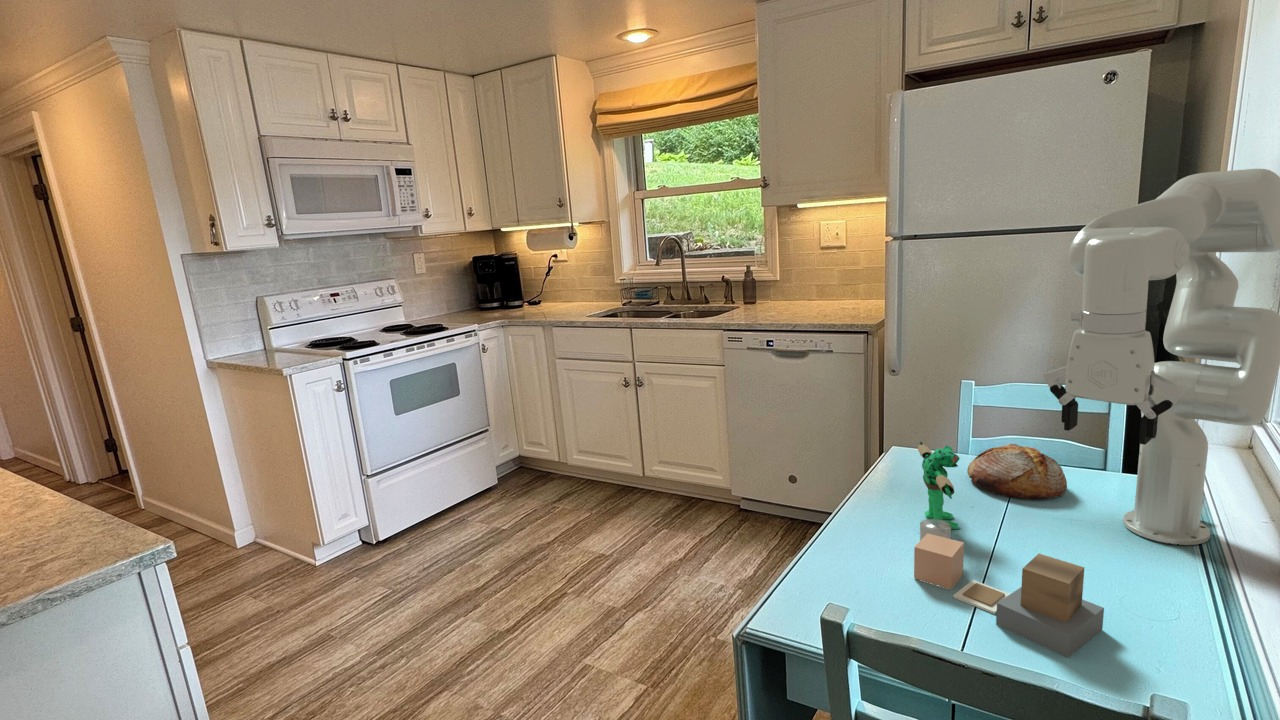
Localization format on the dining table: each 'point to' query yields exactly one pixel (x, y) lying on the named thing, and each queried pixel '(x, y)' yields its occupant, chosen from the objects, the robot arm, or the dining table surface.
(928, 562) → the terracotta cube
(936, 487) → the toy
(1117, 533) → the dining table surface
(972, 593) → the card
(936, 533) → the grey tin
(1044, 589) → the walnut cube
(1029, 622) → the base block
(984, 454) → the bread
